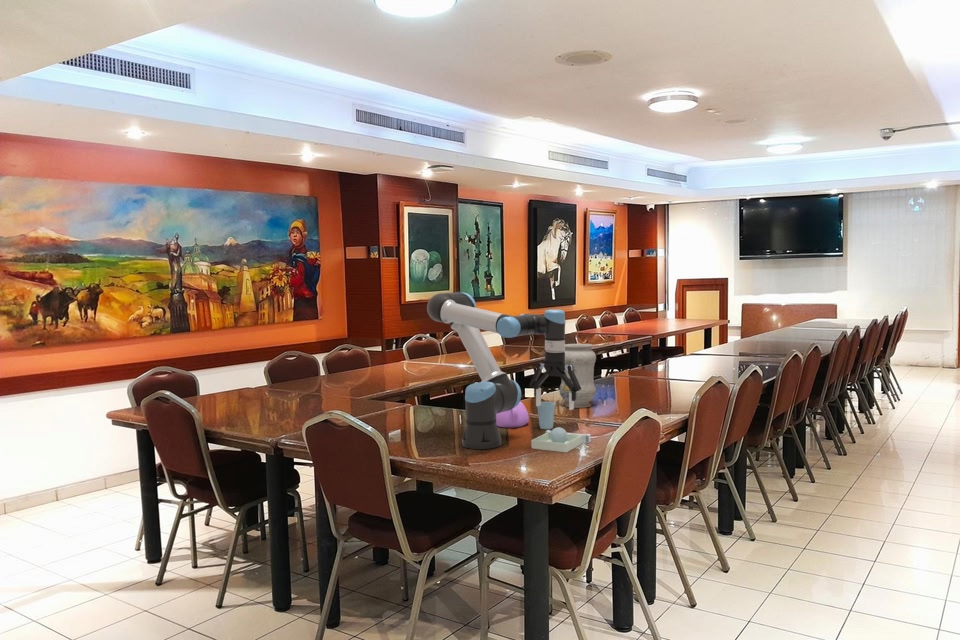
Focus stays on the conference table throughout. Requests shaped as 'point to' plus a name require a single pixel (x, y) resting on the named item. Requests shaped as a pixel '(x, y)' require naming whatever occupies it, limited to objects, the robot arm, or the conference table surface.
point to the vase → (580, 373)
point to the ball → (558, 435)
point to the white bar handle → (584, 437)
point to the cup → (546, 415)
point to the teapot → (513, 417)
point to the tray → (546, 443)
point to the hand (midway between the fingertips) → (554, 407)
